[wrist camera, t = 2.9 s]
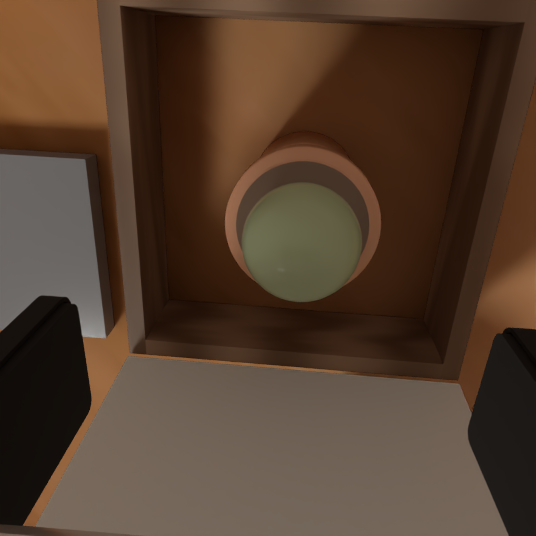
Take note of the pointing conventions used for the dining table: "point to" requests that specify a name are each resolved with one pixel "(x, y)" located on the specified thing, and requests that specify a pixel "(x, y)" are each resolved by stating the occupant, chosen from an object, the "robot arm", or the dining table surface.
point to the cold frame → (305, 321)
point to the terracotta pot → (303, 218)
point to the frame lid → (274, 456)
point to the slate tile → (53, 236)
